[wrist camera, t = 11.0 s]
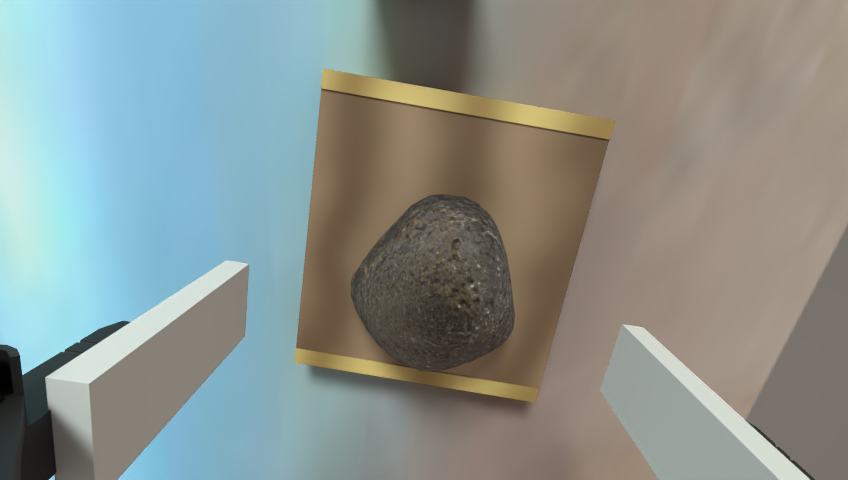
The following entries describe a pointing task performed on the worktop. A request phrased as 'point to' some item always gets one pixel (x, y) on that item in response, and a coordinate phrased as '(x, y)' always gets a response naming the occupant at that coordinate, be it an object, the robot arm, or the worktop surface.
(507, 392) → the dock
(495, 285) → the stone
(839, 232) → the worktop surface
